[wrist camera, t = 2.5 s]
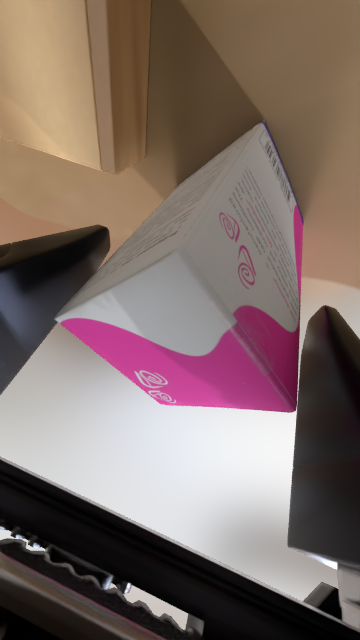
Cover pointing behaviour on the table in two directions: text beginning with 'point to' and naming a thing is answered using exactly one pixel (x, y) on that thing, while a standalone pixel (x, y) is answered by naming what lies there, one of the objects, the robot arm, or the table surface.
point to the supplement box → (206, 288)
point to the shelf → (76, 79)
